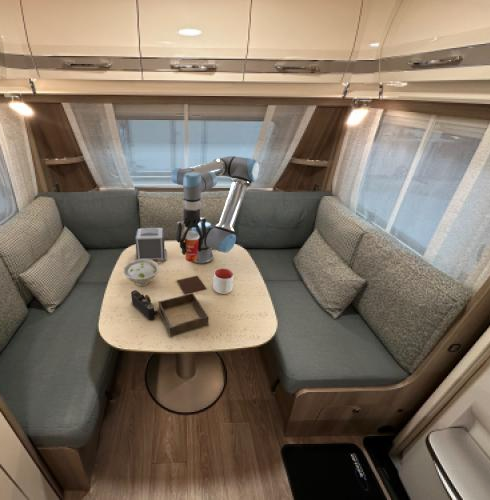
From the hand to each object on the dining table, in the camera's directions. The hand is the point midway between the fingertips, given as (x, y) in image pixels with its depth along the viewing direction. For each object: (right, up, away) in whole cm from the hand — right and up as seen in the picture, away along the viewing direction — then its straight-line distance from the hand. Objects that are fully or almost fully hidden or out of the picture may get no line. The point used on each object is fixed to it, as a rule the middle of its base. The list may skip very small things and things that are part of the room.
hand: (191, 251), depth 131 cm
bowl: (-27, -17, +14) cm, 35 cm away
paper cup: (0, -4, +2) cm, 4 cm away
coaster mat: (0, -18, +13) cm, 22 cm away
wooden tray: (-4, -30, -9) cm, 32 cm away
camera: (-22, -28, -4) cm, 35 cm away
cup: (+17, -20, +10) cm, 28 cm away
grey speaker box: (-25, -3, +38) cm, 46 cm away
